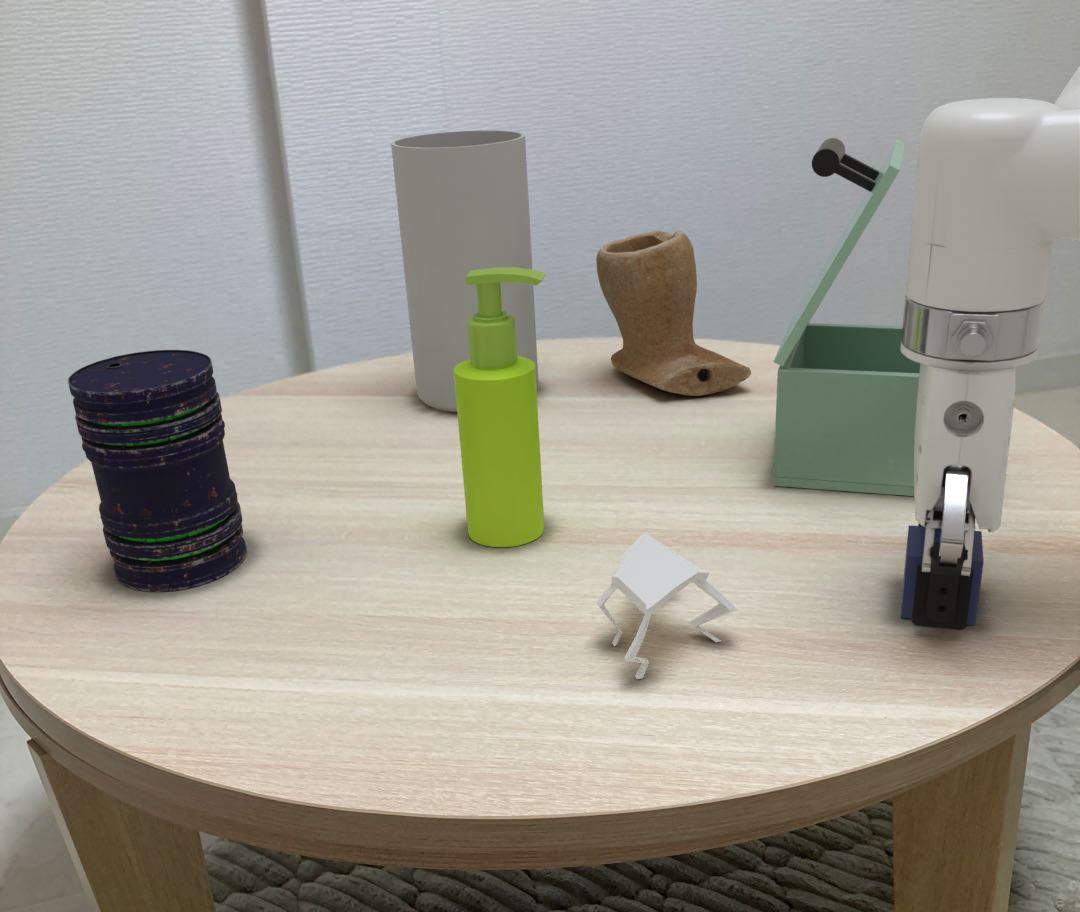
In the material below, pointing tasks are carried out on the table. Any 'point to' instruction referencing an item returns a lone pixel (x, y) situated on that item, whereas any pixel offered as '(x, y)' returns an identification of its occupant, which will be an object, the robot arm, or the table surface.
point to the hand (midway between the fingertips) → (938, 593)
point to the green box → (847, 411)
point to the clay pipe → (660, 315)
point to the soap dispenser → (499, 420)
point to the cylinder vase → (461, 244)
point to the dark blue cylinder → (160, 468)
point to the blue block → (915, 557)
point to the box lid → (824, 165)
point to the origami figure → (658, 588)
